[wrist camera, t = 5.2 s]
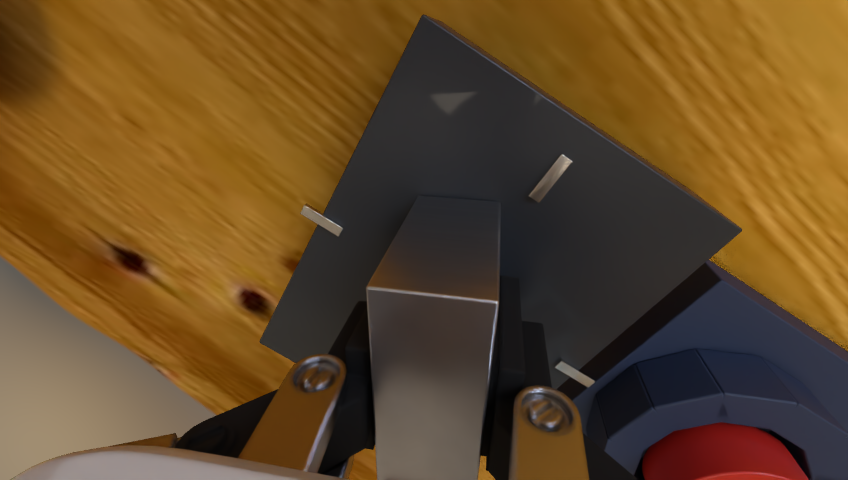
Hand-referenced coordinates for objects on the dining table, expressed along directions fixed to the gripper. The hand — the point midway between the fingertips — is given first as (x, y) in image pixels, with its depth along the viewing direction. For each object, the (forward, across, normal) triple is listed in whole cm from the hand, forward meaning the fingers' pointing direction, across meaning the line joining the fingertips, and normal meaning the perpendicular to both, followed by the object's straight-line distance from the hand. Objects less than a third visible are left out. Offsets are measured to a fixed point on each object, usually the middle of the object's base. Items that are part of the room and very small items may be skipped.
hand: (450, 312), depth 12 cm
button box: (+4, -9, +5) cm, 11 cm away
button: (0, -9, +5) cm, 11 cm away
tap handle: (+1, 0, 0) cm, 1 cm away
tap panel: (+4, 0, 0) cm, 4 cm away
